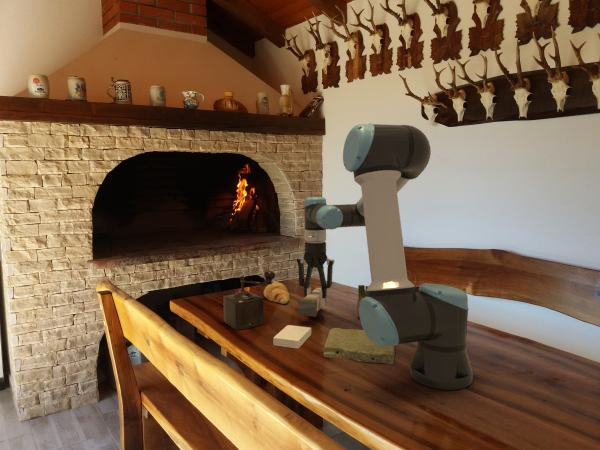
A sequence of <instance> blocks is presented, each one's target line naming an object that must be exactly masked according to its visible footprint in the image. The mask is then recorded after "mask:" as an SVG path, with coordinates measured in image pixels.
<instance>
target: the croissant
mask: <svg viewBox="0 0 600 450" xmlns="http://www.w3.org/2000/svg"><path fill="white" fill-rule="evenodd" d="M263 296H264V298H266V299H267V300H268V301H271V302H274V303H278V304H281V305H284V304H287V303H288V302H289V300H290V293H289V290H288V288H287V286H286V285H285V284H284V283H282V282H278V281H273V282H272V284H269V285H265V286H264V289H263Z"/></svg>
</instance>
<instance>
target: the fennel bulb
mask: <svg viewBox="0 0 600 450" xmlns="http://www.w3.org/2000/svg"><path fill="white" fill-rule="evenodd" d="M357 287H358V298H357V304H356V313H357V314H356V315H357V317H358V318H359V319H360V316H359V307H360V302H361V300H362V299H364V298H365V297H367V293H366V289H367V288H368V287H369V285H365V284H358V285H357Z"/></svg>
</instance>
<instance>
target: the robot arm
mask: <svg viewBox="0 0 600 450" xmlns="http://www.w3.org/2000/svg"><path fill="white" fill-rule="evenodd" d="M342 150H343V152H342V163H343V166H344V167H345V170H346V171H348V172H350V173H353V179H354V182H355V183H356V184H358V185H359V186H360V187H361V188H360V190H361V197H360V199H359V200H358V201H357V202H356V203H353V204H351V203H350V204H328V203H327V198H325V197H323V196H310V197H309V196H307V197H305V199H304V207H303V209H304V240H305V241H304V254H303V256H302V257H298V258H297V259H296V263H297V266H298V286H300V287H302V288H303V291H304V298H305V297H306V296H307V295H308V294H310V293H311V292H312V286H310V285H311V284H310V283H311V278H312V273H313V269H314V268H315V269H317V271H318V275H319V276H318V277H319V280H320V285H321V287H320V288H321V289H320V309H322V308H324V306H325V304H324V298H326V296H327V297H328V289H330V288H331V287H332V286H333V267H334V264H335V260H334V259H331V258H328V255H327V242H326V241H327V230H335V229H338V228H351V227H353V228H354V227H355V228H357V227H365V234H366V242H367V243H366V245H367V252H368V262H369V263H368V264H369V270H370V271H369V272H370V279H371V282H370V284H369V285H368V286H369V287H368V288H367V289H366V293H367V297H365V298H364V299H362V300H361V302H360V307H359V316H360V318H359V319H360V323H361V328H362V330H364V332H365V334H366V335H367V337H368V338H369V340H370V341H371V342H372V343H374V344H375V345H378V346H395V347H396V346H398V345H403V344H411V343H417V345H416V347H415V350H414V353H413V355H412V358H411V361H410V364H409V375H410V376H411V377H410V378H412V379H413V380H414V381H415V382H417V383H418V384H420V385H422V386H425V387H428V388H431V389H436V390H443V391H454V390H455V391H457V390H461V389H465V388H468V387H469V386H470V385H472V384H473V378H474V376H473V374H474V373H473V372H474V371H473V368H472V365H471V361H470V358H469V354H468V351H467V337H468V331H467V330H468V320H469V319H468V317H469V316H468V315H469V310H470V309H469V302H468V301H469V298H468V294H467V293H466V292H465V291H463V290H462V289H460V288H456V287H453V286H450V285H447V284H440V283H430V282H429V283H426V282H425V283H422V284H420V285H419V288H418V292H417V291H416V286H415V284H413V282H412V281H410V280H409V278H408V273H407V271H408V270H407V265H406V264H407V263H406V257H405V256H406V255H405V248H404V240H403V232H402V231H403V230H402V221H401V214H400V207H399V205H400V204H399V198H398V193H399V192H400V191H401V190H402V189H403V187H405V185H406V184H408V182H409V181H410V180H416V179H417V178H419V176H420V175H421V174H422V173H423V172H424V171H425V170H426V168H427V166H428V164H429V162H430V160H431V144H430V141H429V139H428V138H427V136H426V134H425V133H424V132H423V131H422V130H421V129H419V128H417V127H416V126H413V125H409V124H380V123H379V124H377V123H375V124H374V123H372V122H371V123H363V124H356V125H354V126H353V127H352V128H351V129H350V130H349V132H348V133H347V135H346V137H345V141H344V144H343V149H342ZM304 263H306V264H307V268H306V274H305V264H304ZM325 263H326V266H327V268H326V269H327V270H326V275H327V276H326V275H325V269H324V268H325V267H324V264H325Z"/></svg>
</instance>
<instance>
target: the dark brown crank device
mask: <svg viewBox="0 0 600 450" xmlns="http://www.w3.org/2000/svg"><path fill="white" fill-rule="evenodd" d="M275 273H276V272H274V271H272V270H266V271H264V273H263V276H264V279H265V280H264V281H263V282H262V281H261V282H260V281H252V280H251V281H247V280H245V276H244V275H241V276H240V281H239V282H240V283H241V285H240V286H241V289H240V291H236V292H235V293H233V294H229V295H223V297H222V300H223V301H222V302H223V303H222V304H223V305H222V306H223V323H224V322H225V324H226V325H227V324H228V325H227V326H229V327H230V326H231V327H230V328H232V329H234V330H235V331H241V329H242V330H245V329H250V328H254V327H258V326H261V325H263V324H265V322H264V298H263V297H262V296H260V295H257V294H256V293H253V292H250V291H249V290H245V284H246V285H247V284H249V285H260V286H266V285H269V284H272V283H273V282H272V281H273V279H275V278H276V274H275Z"/></svg>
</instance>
